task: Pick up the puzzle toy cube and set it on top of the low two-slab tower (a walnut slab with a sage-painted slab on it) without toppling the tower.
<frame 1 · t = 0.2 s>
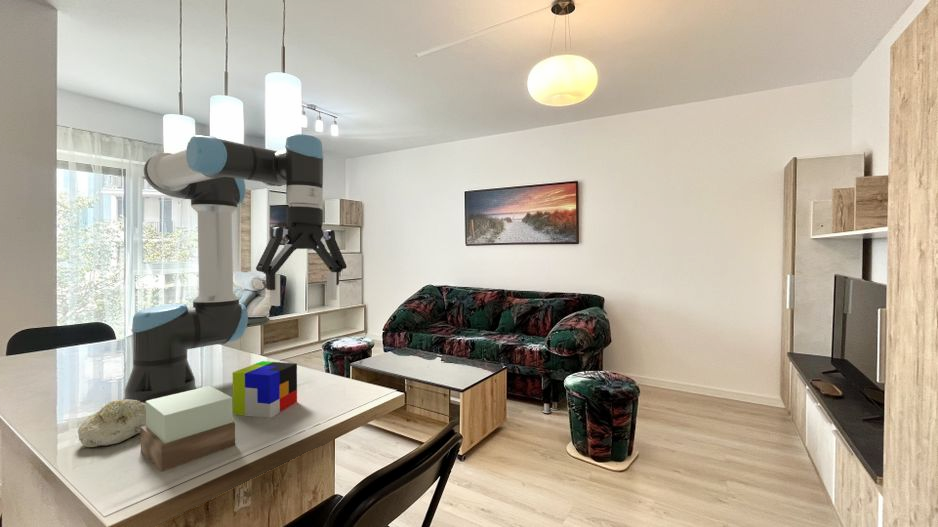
hand: (305, 302, 89), 27 cm above the table, fingers open, 13 cm apart
sage slab: (189, 424, 78), point 5 cm above the table, touching walnut slab
puzzle toy: (266, 408, 98), on the table
decorative item: (118, 437, 82), on the table
walnut slab: (188, 449, 78), on the table, touching sage slab
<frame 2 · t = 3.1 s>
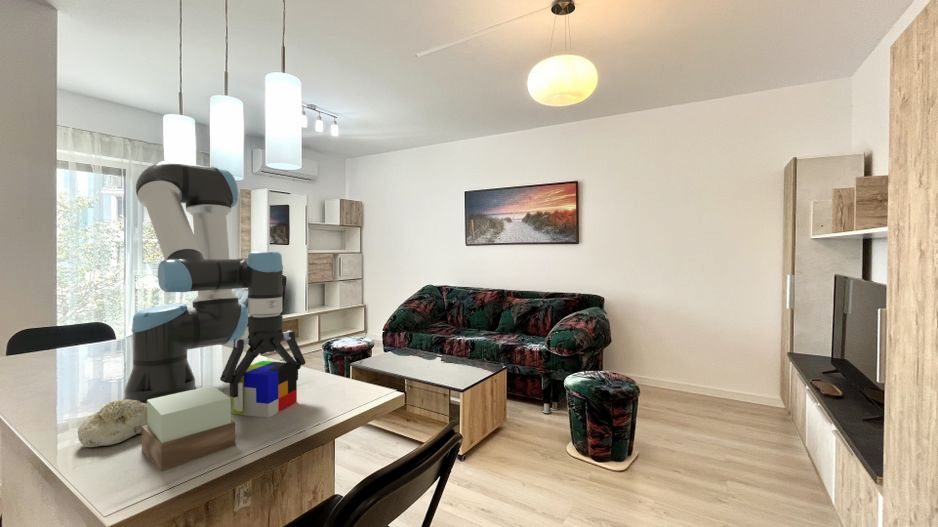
hand: (266, 401, 98), 1 cm above the table, fingers closed on puzzle toy, 12 cm apart
puzzle toy: (265, 408, 98), on the table, touching gripper
everything else where it was.
when the fingers open (13 cm above the table, at t = 8.4 s): puzzle toy drops 2 cm, point 9 cm above the table.
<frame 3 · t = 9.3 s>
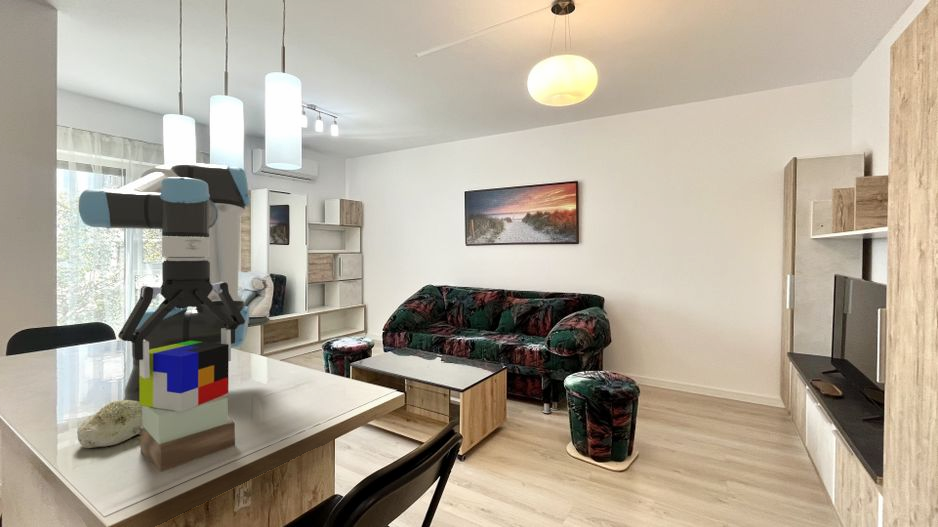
hand: (188, 367, 77), 16 cm above the table, fingers open, 13 cm apart
sage slab: (185, 424, 77), point 5 cm above the table
puzzle toy: (185, 400, 77), point 9 cm above the table, touching gripper
walnut slab: (188, 449, 78), on the table
everything else where it was.
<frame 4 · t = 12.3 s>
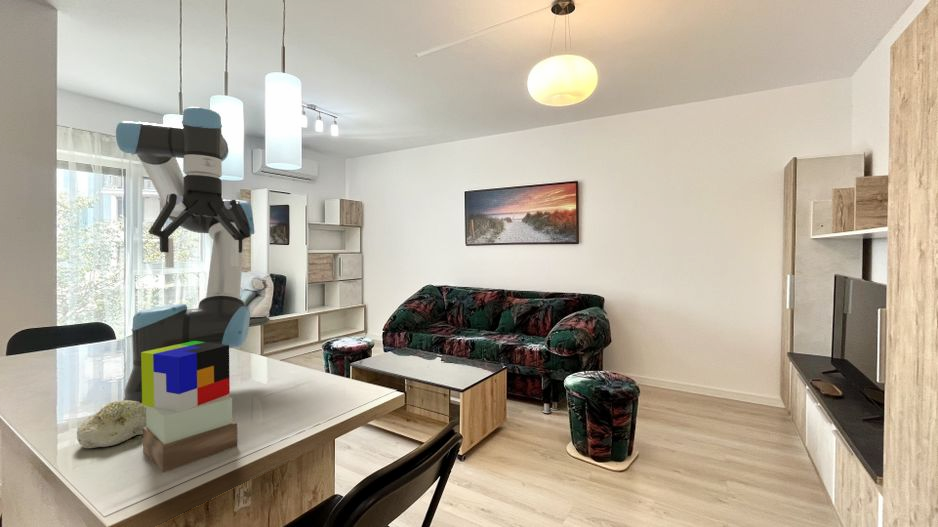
hand: (204, 266, 94), 35 cm above the table, fingers open, 13 cm apart
sage slab: (189, 425, 77), point 5 cm above the table, touching puzzle toy, walnut slab
puzzle toy: (187, 400, 77), point 9 cm above the table, touching sage slab
walnut slab: (190, 450, 77), on the table, touching sage slab
everything else where it was.
at the end: puzzle toy inside the target area (0.1 cm from its centre), point 9.3 cm above the table; sage slab inside the target area (0.5 cm from its centre), point 4.5 cm above the table; puzzle toy tilted 0° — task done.
